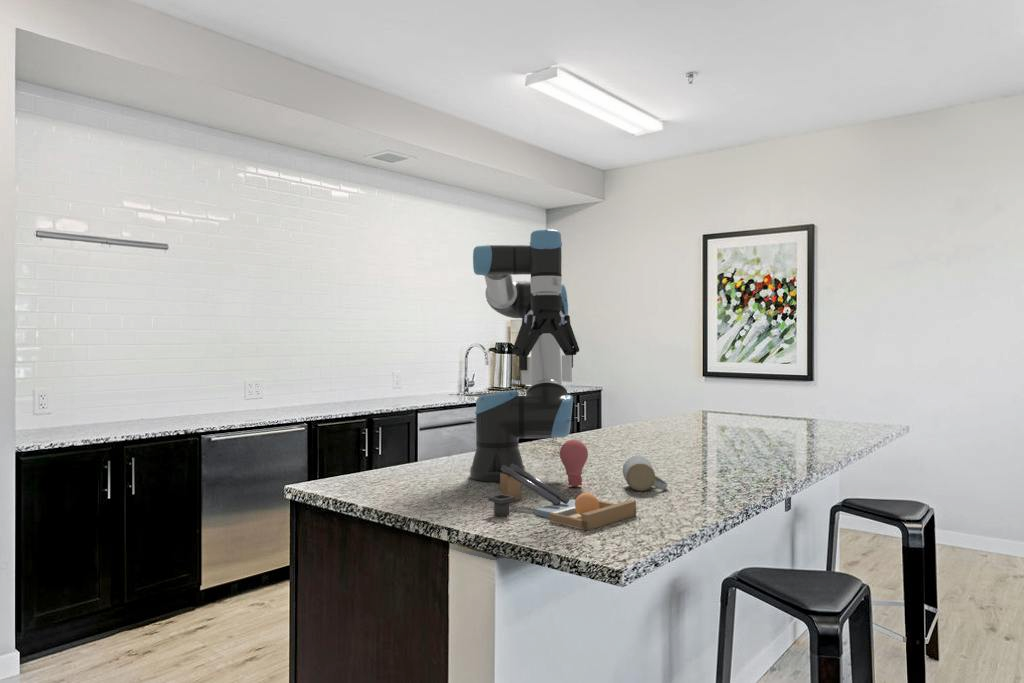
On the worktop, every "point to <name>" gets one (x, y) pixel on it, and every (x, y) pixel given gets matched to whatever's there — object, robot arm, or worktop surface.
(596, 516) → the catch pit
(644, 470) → the ceramic mug
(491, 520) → the worktop surface
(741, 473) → the worktop surface
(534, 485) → the ramp
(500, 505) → the tee
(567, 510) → the block
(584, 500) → the ball
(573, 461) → the light bulb
